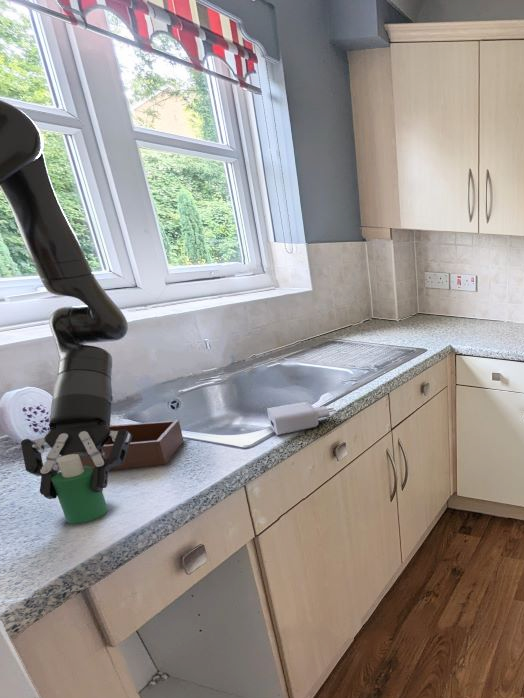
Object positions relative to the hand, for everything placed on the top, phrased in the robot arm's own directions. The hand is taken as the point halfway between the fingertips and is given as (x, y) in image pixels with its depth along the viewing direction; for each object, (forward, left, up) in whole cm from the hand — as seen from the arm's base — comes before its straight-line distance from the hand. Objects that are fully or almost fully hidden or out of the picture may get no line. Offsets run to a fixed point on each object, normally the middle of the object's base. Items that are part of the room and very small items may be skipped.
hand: (74, 493), depth 74 cm
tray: (-1, +25, -5) cm, 25 cm away
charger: (+31, +35, -5) cm, 47 cm away
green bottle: (0, +2, -5) cm, 5 cm away
